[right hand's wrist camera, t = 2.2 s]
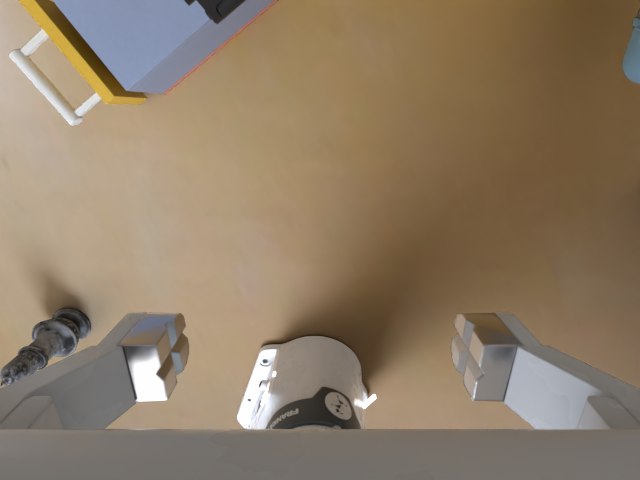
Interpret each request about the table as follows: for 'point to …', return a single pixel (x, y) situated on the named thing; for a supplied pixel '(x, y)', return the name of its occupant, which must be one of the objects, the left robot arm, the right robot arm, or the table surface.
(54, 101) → the drawer
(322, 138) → the table surface
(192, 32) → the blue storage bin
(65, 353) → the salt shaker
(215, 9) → the left robot arm
